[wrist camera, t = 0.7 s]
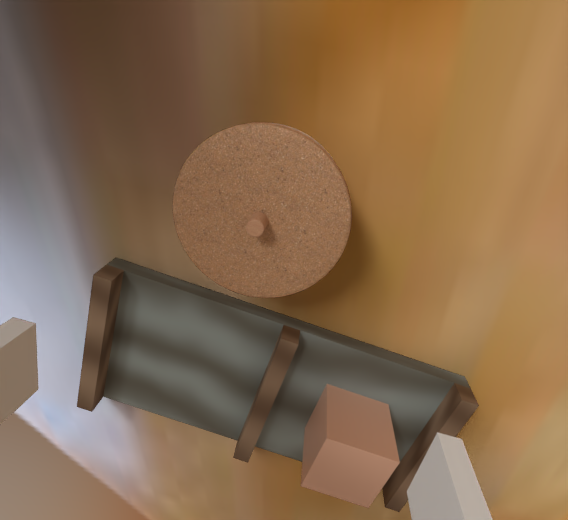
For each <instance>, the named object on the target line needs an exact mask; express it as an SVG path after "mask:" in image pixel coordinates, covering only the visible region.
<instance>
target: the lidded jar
mask: <svg viewBox="0 0 568 520" xmlns="http://www.w3.org/2000/svg"><path fill="white" fill-rule="evenodd" d="M173 217H174V223H175V227H176V231H177V234H178V237H179V239H180V241H181V244H182V246H183V248H184V249H185V251H186V253H187V254H188V256H189V258H190V259H191V260H192V261H193V262H194V264H195V265H196V266H197V267H198V268H199V269H200V270H201V271H202V272H203V273H204V274H205V275H206V276H207V277H209V278H210V279H212V280H213V281H214V282H216V283H217V284H219V285H221V286H223V287H225V288H227V289H229V290H231V291H234V292H237V293H239V294H242V295H247V296H252V297H261V298H273V297H283V296H287V295H292V294H295V293H297V292H300V291H303V290H305V289H307V288H309V287H310V286H312V285H314V284H316V283H317V282H318V281H320V280H321V279H322V278H323V277H325V276H326V275H327V274H328V273H329V272H330V270H331V269H332V268H333V267H334V266H335V265H336V263H337V262H338V260H339V259H340V257H341V256H342V254H343V251H344V249H345V247H346V245H347V242H348V238H349V234H350V230H351V221H352V210H351V200H350V196H349V192H348V188H347V184H346V182H345V180H344V177H343V175H342V173H341V171H340V169H339V168H338V166H337V165H336V163H335V161H334V160H333V158H332V157H331V155H330V154H329V153H328V152H327V151H326V150H325V148H324V147H323V146H322V145H321V144H319V143H318V142H317V141H316V140H314V139H313V138H312V137H311V136H309V135H307V134H305V133H304V132H302V131H300V130H298V129H295V128H292V127H289V126H287V125H282V124H276V123H260V122H252V123H246V124H239V125H236V126H233V127H230V128H227V129H224V130H221V131H220V132H218V133H216V134H214V135H212V136H210V137H209V138H207V139H206V140H205V141H204V142H202V143H201V144H200V145H199V146H197V148H196V149H195V150H194V151H193V152H192V153H191V154H190V156H189V157H188V158H187V160H186V162H185V163H184V165H183V166H182V168H181V170H180V173H179V175H178V178H177V180H176V184H175V189H174V193H173Z"/></svg>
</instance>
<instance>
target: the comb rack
mask: <svg viewBox="0 0 568 520" xmlns="http://www.w3.org/2000/svg"><path fill="white" fill-rule="evenodd" d="M326 384H329V385H332V386H335V387H338V388H341V389H344V390H347V391H350V392H353V393H356V394H359V395H362V396H365V397H368V398H371V399H374V400H377V401H380V402H383V403H386V404H389V410H390V415H391V420H392V425H393V430H394V435H395V440H396V445H397V450H398V455H399V461H400V463H399V464H398V466H397V467H396V469H395V470H394V472H393V473H392V475H391V476H390V478H389V479H388V480H387V482H386V483H385V485H384V486H383V488H382V489H383V497H384V504H385V507H386V508H389V509H392V510H395V511H398V512H400V510H401V509H402V508H403V506H404V505H405V504H406V502H407V501H408V496H407V490H408V488H409V486H410V484H411V482H412V480H413V478H414V476H415V474H416V473H417V471H418V469H419V467H420V465H421V463H422V461H423V459H424V457H425V455H426V453H427V451H428V449H429V447H430V446H431V444H432V442H433V440H434V438H435V436H436V434H437V432H438V433H442V434H445V435H449V436H453V437H456V436H457V434H458V433H459V432H460V430H461V429H462V428H463V426H464V425H465V424H466V422H467V421H468V420H469V418H470V417H471V416H472V414H473V413H474V412H475V410H476V409H477V408H478V406H479V405H478V403H477V401H476V399H475V397H474V395H473V392H472V390H471V388H470V386H469V384H468V382H467V380H466V378H465V377H464V376H461V375H458V374H455V373H452V372H449V371H447V370H444V369H441V368H438V367H435V366H432V365H429V364H426V363H423V362H420V361H417V360H414V359H411V358H409V357H406V356H403V355H400V354H397V353H394V352H391V351H388V350H385V349H382V348H379V347H376V346H373V345H370V344H368V343H365V342H362V341H359V340H356V339H353V338H350V337H347V336H344V335H341V334H338V333H335V332H332V331H329V330H327V329H324V328H321V327H318V326H315V325H312V324H309V323H306V322H303V321H300V320H297V319H294V318H291V317H289V316H286V315H283V314H280V313H277V312H274V311H271V310H268V309H265V308H262V307H259V306H256V305H253V304H250V303H248V302H245V301H242V300H239V299H236V298H233V297H230V296H227V295H224V294H221V293H218V292H215V291H212V290H210V289H207V288H204V287H201V286H198V285H195V284H192V283H189V282H186V281H183V280H180V279H177V278H174V277H171V276H169V275H166V274H163V273H160V272H157V271H154V270H151V269H148V268H145V267H142V266H139V265H136V264H133V263H131V262H128V261H125V260H122V259H119V258H115V259H113V260H112V261H111V262H109V263H108V264H107V265H106V266H104V267H103V268H102V269H100V270H99V271H98V272H96V273H95V274H94V275H93V282H92V290H91V298H90V306H89V314H88V322H87V330H86V338H85V346H84V354H83V362H82V370H81V378H80V386H79V394H78V402H77V407H79V408H82V409H85V410H89V411H93V410H94V408H95V407H96V406H97V404H98V403H99V402H100V400H101V399H102V397H106V398H110V399H113V400H116V401H119V402H122V403H125V404H128V405H131V406H134V407H137V408H140V409H143V410H146V411H149V412H152V413H155V414H158V415H161V416H164V417H167V418H170V419H174V420H177V421H180V422H183V423H186V424H189V425H192V426H195V427H198V428H201V429H204V430H207V431H210V432H213V433H216V434H219V435H222V436H225V437H228V438H231V439H234V440H237V445H236V449H235V453H234V457H233V458H236V459H239V460H242V461H245V462H248V461H249V459H250V456H251V454H252V452H253V449H254V447H255V446H256V447H259V448H262V449H265V450H268V451H271V452H274V453H277V454H280V455H283V456H286V457H289V458H292V459H295V460H298V461H301V462H302V461H303V446H304V432H305V427H306V425H307V423H308V421H309V419H310V417H311V415H312V413H313V410H314V408H315V406H316V404H317V402H318V400H319V398H320V396H321V394H322V392H323V390H324V388H325V386H326Z"/></svg>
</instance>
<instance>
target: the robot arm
mask: <svg viewBox="0 0 568 520" xmlns="http://www.w3.org/2000/svg"><path fill="white" fill-rule="evenodd" d="M37 390H38V369H37V344H36V323H32V322H29V321H25V320H21V319H18V318H14V317H13V318H11V319H10V320H8V321H7V322H5V323H3V324H2V325H0V425H1V424H2V423H3V422H4V421H5V420H6V419H7V418H8V417H9V416H10V415H11V414H12V413H13V412H15V411H16V410H17V409H18V408H19V407H20V406H21V405H22V404H23V403H24V402H25V401H26V400H27V399H28V398H29V397H31V396H32V395H33V394H34V393H35V392H36V391H37ZM407 496H408V501H409V507H410V512H411V517H412V520H493V519H492V517H491V514H490V511H489V509H488V506H487V504H486V501H485V498H484V496H483V493H482V491H481V488H480V485H479V483H478V480H477V478H476V475H475V472H474V470H473V467H472V464H471V462H470V459H469V457H468V454H467V451H466V449H465V446H464V444H463V441H462V439H460V438H456V437H453V436H449V435H445V434H442V433H438V432H437V434H436V436H435V438H434V440H433V442H432V444H431V446H430V447H429V449H428V451H427V453H426V455H425V457H424V459H423V461H422V463H421V465H420V467H419V469H418V471H417V473H416V474H415V476H414V478H413V480H412V482H411V484H410V486H409V488H408V490H407Z"/></svg>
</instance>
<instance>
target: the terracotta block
mask: <svg viewBox="0 0 568 520" xmlns="http://www.w3.org/2000/svg"><path fill="white" fill-rule="evenodd" d="M399 463H400V461H399V455H398V450H397V445H396V440H395V435H394V430H393V425H392V420H391V415H390V410H389V404H386V403H383V402H380V401H377V400H374V399H371V398H368V397H365V396H362V395H359V394H356V393H353V392H350V391H347V390H344V389H341V388H338V387H335V386H332V385H329V384H326V386H325V388H324V390H323V392H322V394H321V396H320V398H319V400H318V402H317V404H316V406H315V408H314V410H313V413H312V415H311V417H310V419H309V421H308V423H307V425H306V427H305V432H304V446H303V461H302V475H301V486H302V487H305V488H308V489H311V490H314V491H317V492H320V493H323V494H326V495H329V496H333V497H336V498H339V499H342V500H345V501H348V502H351V503H354V504H357V505H360V506H363V507H366V508H369V507H370V505H371V504H372V502H373V501H374V499H375V498H376V496H377V495H378V494H379V492H380V491H381V489H382V488H383V486H384V485H385V483H386V482H387V480H388V479H389V478H390V476H391V475H392V473H393V472H394V470H395V469H396V467H397V466H398V464H399Z"/></svg>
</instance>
